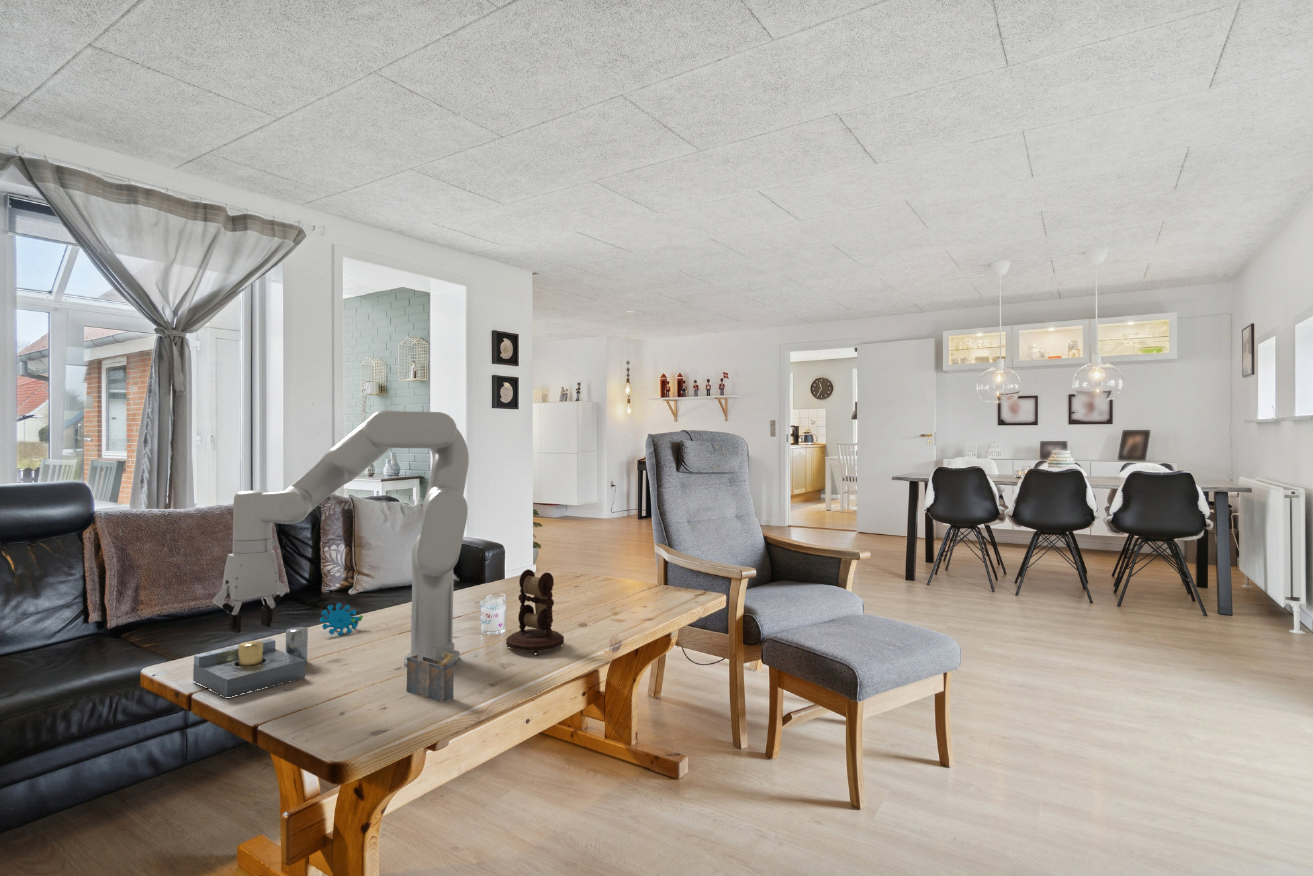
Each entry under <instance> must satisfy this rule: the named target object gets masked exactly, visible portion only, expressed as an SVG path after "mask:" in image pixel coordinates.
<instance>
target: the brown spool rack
mask: <svg viewBox="0 0 1313 876" xmlns="http://www.w3.org/2000/svg"><path fill="white" fill-rule="evenodd" d="M518 582H519V584H518V585H519V587H520V589H519V592H520V594H519V595H518V600H519V603H520V607H519V611H518V617H517V618H518V623H519V626H518V627H519V631H515V632H513V633H512V634H510V635H508V636H507V637H506V640H505V641H506V643H505V645H506V646H507V647H510V649H513V650H517V651H526V652H533V653H532V654H534V653H537V654H538V652H539V651H549V650H552V649H553V650H554V649H556V648H559V647H560V646H561V645H562V644H563V645H564V643H565V636H564V635H563V634H562V633H559V631H556V630H553V629H552V627H553V625H552V624H553V622H554V617H553V606H554V604H555V600H554V599H553V590H554V588H553V587H554V586H555V585H554V584H555V582H554V577H553V575H552V573H550V572H543V573H542V574H541V575H540V576H539V577H538V576H536V575H535V572H534V570H532V569H525V570H524V571H522V573H521V574H520V577H519V581H518ZM526 602H531V603H533V604H534V607H535V610H534V607H533V606H532V604H525V603H526ZM526 627H529V628H527V629H526Z"/></svg>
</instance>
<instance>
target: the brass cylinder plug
mask: <svg viewBox="0 0 1313 876" xmlns="http://www.w3.org/2000/svg"><path fill="white" fill-rule="evenodd" d="M261 641H262V640H253V641H252V640H251V641H245V642H241V643H240V644H239V645H238V646H239V657H238V666H241V667H246V666H254V665H258V664H261V663H263V642H261Z"/></svg>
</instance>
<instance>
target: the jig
mask: <svg viewBox="0 0 1313 876" xmlns="http://www.w3.org/2000/svg"><path fill="white" fill-rule="evenodd" d="M260 641H261V642H263V663H261V664H258V665H254V666H246V667H241V666H238V657H239V645H234V646H230V647H226V648H222V649H216V650H213V651H212V650H211V651H208V652H203V653H197V654H194V655H193V672H192V673H193V675H192V676H193V677H192V678H193V681H195V682H196V683H199V684H201V685H203V686H205V687H207V688H208V689H211V690H212V691H214V692H216V693H218V694H219V695H222V696H224V697H232V696H235V695H240V694H242V693H247V692H249V691H255V690H257V689H262V688H265V687H271V686H273V685H278V684H281V683H285V684H287V683H286V682H289V681H293V682H295V681H294V680H296V681H299V680H298V679H300V680H303V679H302V678H304V679H306V664H305V660H304V659H301V658H298V657H296V656H293V655H290V654H288V653H286V651H282V650H279V649H276V639H273V638H266V639H263V640H260ZM193 681H192V682H193ZM289 683H290V682H289ZM278 686H279V685H278ZM271 688H272V687H271ZM219 695H218V696H219Z"/></svg>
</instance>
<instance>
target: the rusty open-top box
mask: <svg viewBox="0 0 1313 876" xmlns="http://www.w3.org/2000/svg"><path fill="white" fill-rule="evenodd" d="M453 655H455V653H454V654H453ZM453 655H452V654H448V652H447V653H446V654H444V661H441V660H437V659H433V658H429V657H425V656H423V661H422V660H418V654H417V655H413V656H410V657H407V666H406V692H407V691H408V692H407V693H411V694H413V693H414V694H413V695H417V696H420V695H422V696H421V697H423V696H424V698H426V697H428V698H427V699H430V698H431V699H430V700H433V699H435V700H434V701H436V700H438V701H437V702H440V701H442V702H441V703H443V702H444V701H446V702H448V701H447V700H449V699H451V700H453V699H454V681H455V680H454V679H455V677H454V675H455V669H454V668H455V663H453V664H450V665H447V666H446V664H447V663H448V662H449V661H450V660H451V659H452V658H453ZM452 698H453V699H452ZM449 701H450V700H449ZM444 703H445V702H444Z"/></svg>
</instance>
